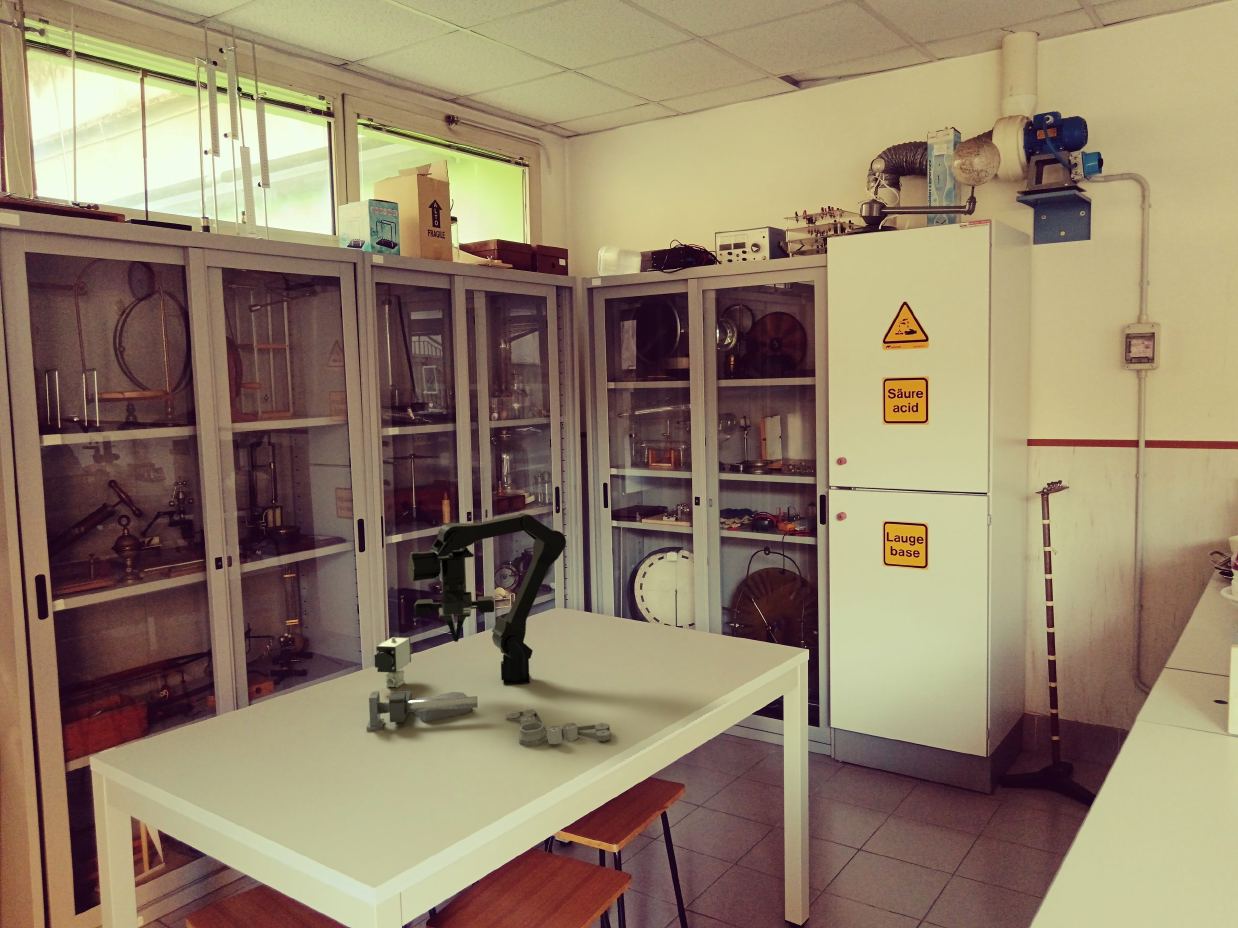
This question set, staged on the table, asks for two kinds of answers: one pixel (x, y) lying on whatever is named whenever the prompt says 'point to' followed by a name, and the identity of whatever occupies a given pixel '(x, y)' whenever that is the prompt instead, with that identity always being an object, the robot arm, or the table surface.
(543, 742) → the pulley system
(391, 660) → the pneumatic valve
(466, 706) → the linear shaft assembly
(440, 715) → the stone block
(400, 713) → the collar
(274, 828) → the table surface
